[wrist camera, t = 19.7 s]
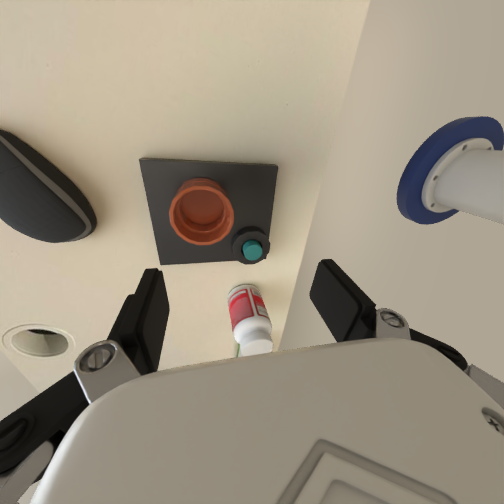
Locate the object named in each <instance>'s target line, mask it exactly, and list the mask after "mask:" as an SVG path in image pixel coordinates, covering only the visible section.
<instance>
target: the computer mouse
mask: <svg viewBox="0 0 504 504" xmlns="http://www.w3.org/2000/svg"><path fill="white" fill-rule="evenodd" d="M0 218H1V219H2V220H3V221H4V222H5V223H6V224H8V225H9V226H11V227H12V228H13V229H15V230H17V231H19V232H21V233H23V234H25V235H27V236H29V237H32V238H34V239H37V240H41V241H45V242H51V243H59V242H70V241H76V240H79V239H82V238H85V237H86V236H88V235H90V234H91V233H92V232H93V231H94V229H95V227H96V219H95V215H94V213H93V211H92V209H91V207H90V205H89V203H88V202H87V200H86V199H85V197H84V196H83V195H82V193H81V192H80V191H79V190H78V189H77V188H76V186H75V185H74V184H73V183H72V182H71V181H70V180H68V179H67V178H66V177H65V176H64V175H63V174H62V173H61V172H60V171H58V170H57V169H56V168H55V167H54V166H53V165H51V164H50V163H49V162H48V161H47V160H46V159H44V158H43V157H42V156H41V155H40V154H38V153H37V152H36V151H34V150H33V149H32V148H30V147H29V146H28V145H26V144H25V143H23V142H22V141H20V140H19V139H18V138H16V137H15V136H13V135H12V134H10V133H8V132H5V131H2V130H0Z"/></svg>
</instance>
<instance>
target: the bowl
mask: <svg viewBox="0 0 504 504" xmlns="http://www.w3.org/2000/svg"><path fill="white" fill-rule="evenodd" d="M169 216H170V223H171V225H172V227H173V229H174V230H175V232H176V233H177V235H179V236H180V237H181V238H183V239H184V240H185V241H187V242H190V243H193V244H196V245H211V244H213V243H216V242H218V241H221V240H222V239H223V238H224V237H225V236H226V235H227V234H229V232H230V230H231V228H232V226H233V223H234V210H233V208H232V205H231V203H230V200H229V198H228V195H227V193H226V191H225V190H224V189H223V188H222V187H221V186H220V185H219V184H218V183H217V182H215V181H213V180H210V179H208V178H193V179H190V180H188V181H185V182H184V183H183V184H182V185H181V186H180V187H179V188H178V189H177V191H176V193H175V195H174V198H173V200H172V204H171V207H170V210H169Z"/></svg>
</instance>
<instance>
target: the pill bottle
mask: <svg viewBox="0 0 504 504" xmlns="http://www.w3.org/2000/svg"><path fill="white" fill-rule="evenodd" d="M228 305H229V311H230V317H231V323H232V330H233V335H234V339H235V340H236V342H237V343H239V344H240V349H241V353H242V356H250V355H256V354H263V353H270V352H271V350H272V349H273V342H272V339H271V336H270V335H271V332H272V324H271V321H270V319H269V316H268V313H267V311H266V308H265V305H264V302H263V300H262V297H261V294H260V292H259V290H258V289H257V288H256V287H255V286H253V285H240V286H237V287H236V288H234V289H233V290H232V291H231V292H230V294H229V296H228Z"/></svg>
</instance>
